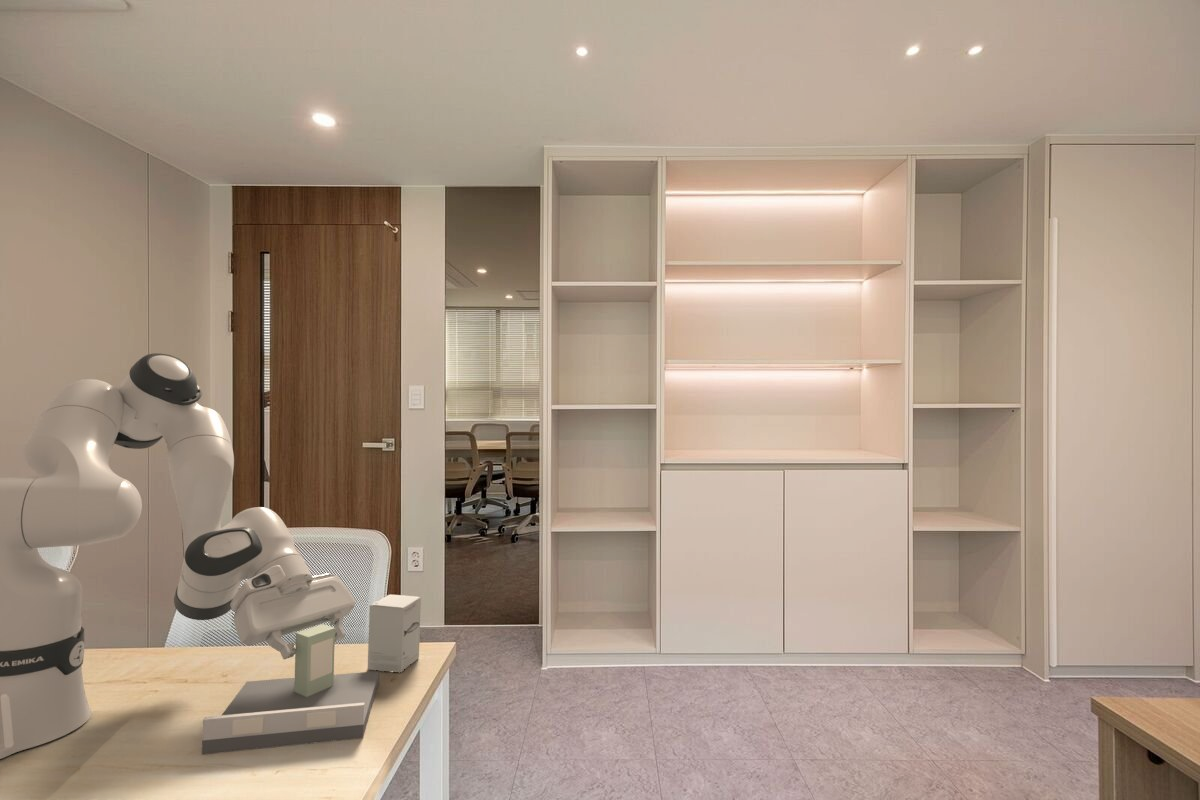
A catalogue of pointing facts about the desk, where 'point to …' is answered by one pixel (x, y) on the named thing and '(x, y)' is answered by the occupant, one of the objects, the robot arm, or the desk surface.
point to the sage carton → (314, 660)
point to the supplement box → (394, 633)
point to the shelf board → (291, 714)
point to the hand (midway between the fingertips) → (316, 647)
